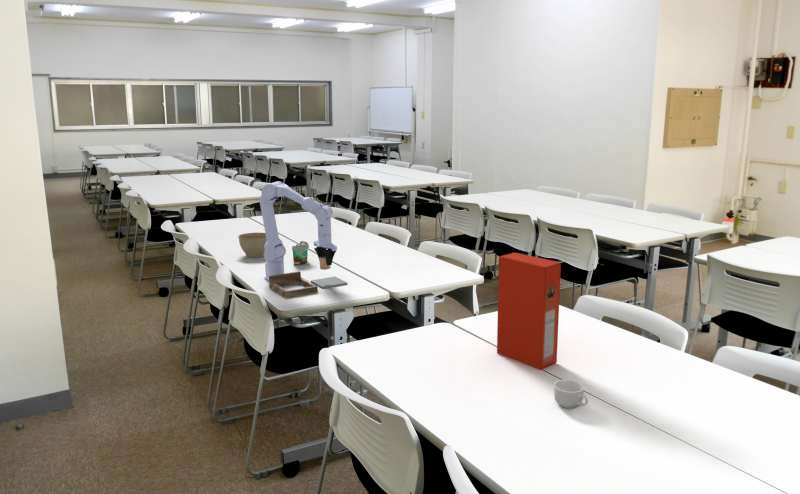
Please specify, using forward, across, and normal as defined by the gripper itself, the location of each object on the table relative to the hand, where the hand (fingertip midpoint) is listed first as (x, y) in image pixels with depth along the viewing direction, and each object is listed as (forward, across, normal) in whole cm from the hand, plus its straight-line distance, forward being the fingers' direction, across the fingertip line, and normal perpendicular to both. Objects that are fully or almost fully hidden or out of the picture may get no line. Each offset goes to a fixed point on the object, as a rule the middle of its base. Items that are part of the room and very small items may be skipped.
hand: (325, 264), depth 281 cm
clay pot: (+2, 0, 0) cm, 2 cm away
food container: (+9, -38, +13) cm, 41 cm away
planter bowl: (+9, -68, +4) cm, 69 cm away
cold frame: (+9, -3, -16) cm, 18 cm away
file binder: (+9, +111, -4) cm, 111 cm away
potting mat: (+9, 0, +1) cm, 9 cm away
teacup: (+9, +138, -20) cm, 140 cm away
